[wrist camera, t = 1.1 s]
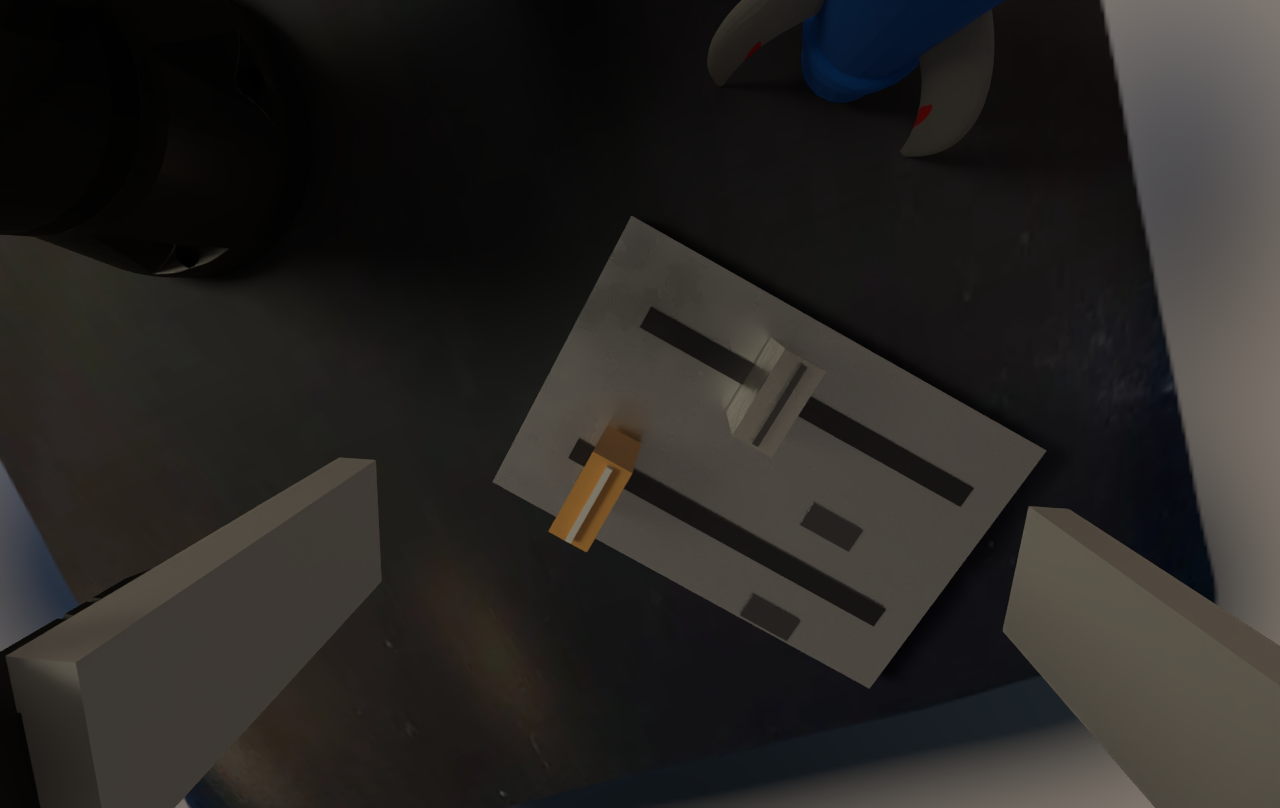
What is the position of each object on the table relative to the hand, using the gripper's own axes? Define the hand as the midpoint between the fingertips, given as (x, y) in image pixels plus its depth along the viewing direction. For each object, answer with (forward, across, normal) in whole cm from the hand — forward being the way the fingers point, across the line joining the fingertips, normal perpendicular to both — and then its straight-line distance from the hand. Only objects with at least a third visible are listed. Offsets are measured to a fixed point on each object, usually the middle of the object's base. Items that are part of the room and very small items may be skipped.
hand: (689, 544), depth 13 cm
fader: (+20, -4, -6) cm, 21 cm away
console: (+22, +4, -5) cm, 23 cm away
